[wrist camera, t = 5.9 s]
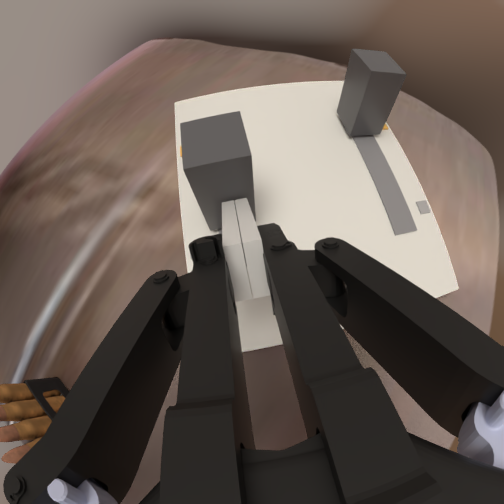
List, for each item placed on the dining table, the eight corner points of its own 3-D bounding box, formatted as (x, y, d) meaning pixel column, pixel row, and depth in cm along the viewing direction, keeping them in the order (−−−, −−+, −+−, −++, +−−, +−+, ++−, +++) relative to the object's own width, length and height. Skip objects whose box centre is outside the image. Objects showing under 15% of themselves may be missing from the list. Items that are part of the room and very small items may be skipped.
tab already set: (380, 134, 24) (406, 74, 16) (349, 136, 23) (371, 70, 16) (365, 110, 25) (385, 52, 17) (336, 111, 25) (351, 48, 17)
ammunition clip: (50, 387, 19) (-42, 390, 8) (57, 376, 20) (-38, 375, 8) (124, 468, 17) (47, 521, 6) (133, 458, 17) (54, 513, 6)
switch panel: (446, 293, 21) (460, 288, 19) (207, 357, 20) (200, 358, 18) (354, 92, 29) (358, 79, 27) (178, 114, 29) (174, 101, 27)
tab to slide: (256, 221, 21) (251, 155, 13) (210, 230, 21) (183, 169, 13) (247, 183, 22) (239, 110, 14) (204, 192, 22) (180, 123, 14)
